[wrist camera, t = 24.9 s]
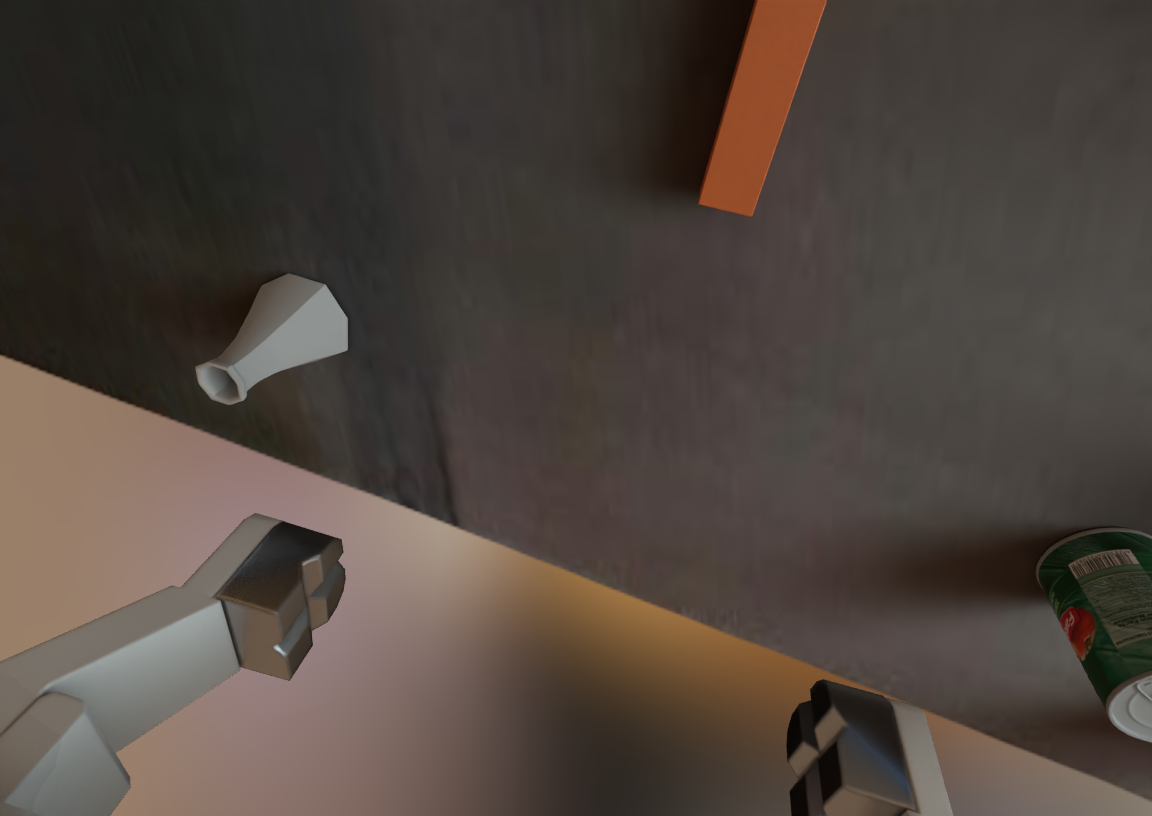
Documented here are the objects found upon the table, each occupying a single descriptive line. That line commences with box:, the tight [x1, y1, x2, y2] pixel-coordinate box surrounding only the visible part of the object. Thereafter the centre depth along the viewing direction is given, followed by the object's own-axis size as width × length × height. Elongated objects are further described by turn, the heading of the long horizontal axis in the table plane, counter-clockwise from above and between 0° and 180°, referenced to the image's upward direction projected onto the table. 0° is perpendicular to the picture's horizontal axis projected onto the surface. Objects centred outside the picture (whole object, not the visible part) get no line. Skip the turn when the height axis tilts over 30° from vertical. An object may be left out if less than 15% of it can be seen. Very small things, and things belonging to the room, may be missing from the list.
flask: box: [195, 273, 348, 405], centre depth 43 cm, size 7×7×10 cm
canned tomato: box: [1036, 528, 1152, 742], centre depth 40 cm, size 8×8×11 cm
